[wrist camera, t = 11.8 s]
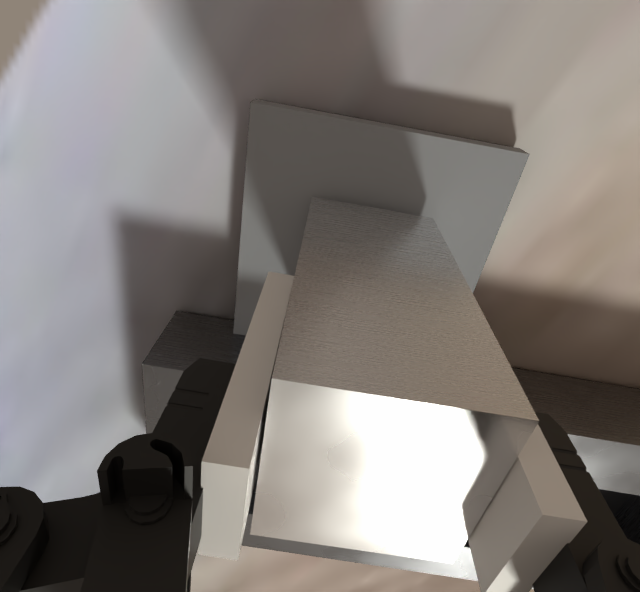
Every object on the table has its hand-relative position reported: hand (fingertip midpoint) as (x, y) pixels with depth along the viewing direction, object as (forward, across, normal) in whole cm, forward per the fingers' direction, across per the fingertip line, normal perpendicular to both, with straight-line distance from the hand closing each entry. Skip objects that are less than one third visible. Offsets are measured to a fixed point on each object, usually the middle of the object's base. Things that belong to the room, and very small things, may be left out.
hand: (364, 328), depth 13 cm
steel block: (+5, 0, 0) cm, 5 cm away
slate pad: (+6, 0, 0) cm, 6 cm away
